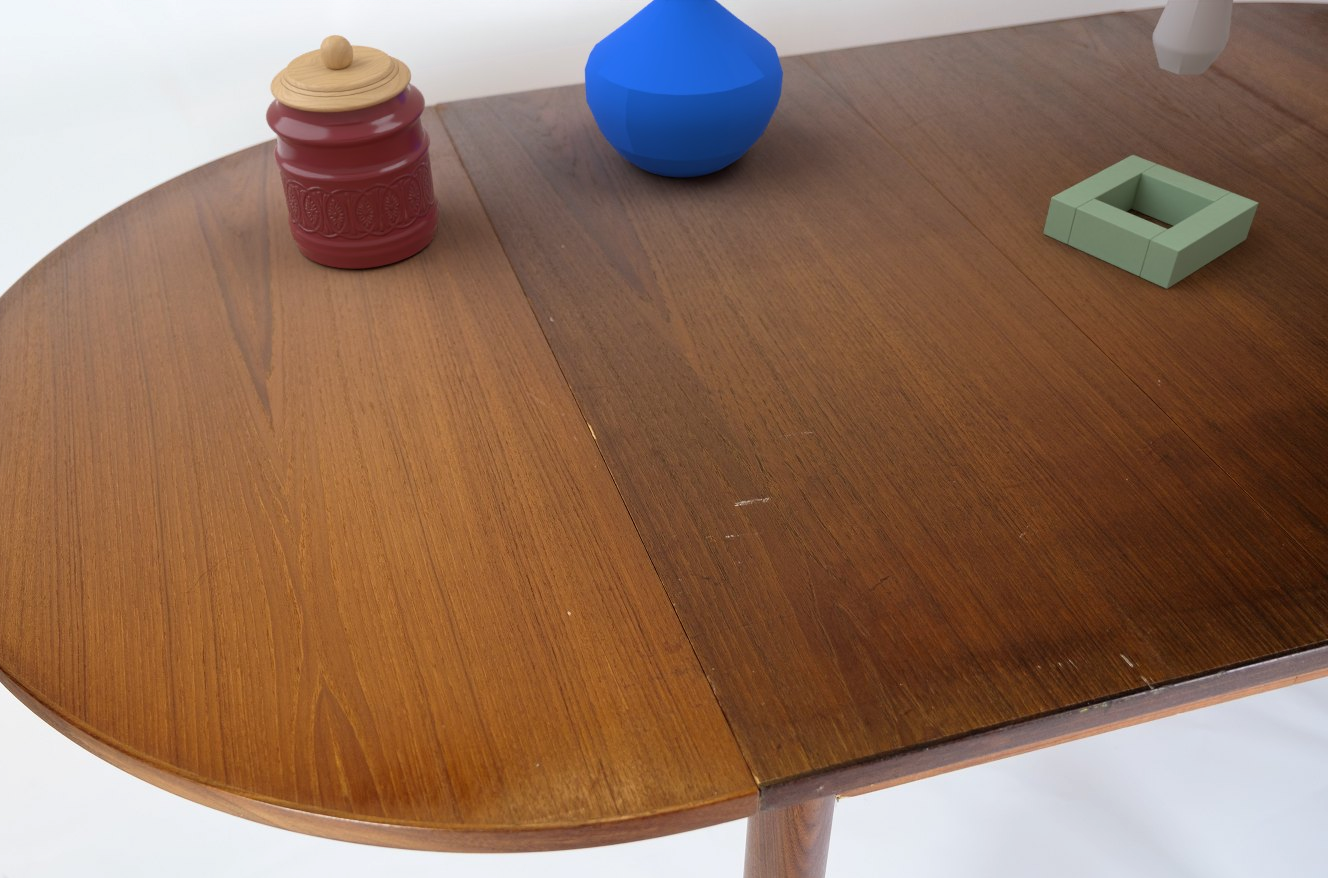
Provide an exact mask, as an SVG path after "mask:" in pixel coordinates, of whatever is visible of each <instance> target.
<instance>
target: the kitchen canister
mask: <svg viewBox="0 0 1328 878" xmlns="http://www.w3.org/2000/svg"><path fill="white" fill-rule="evenodd" d="M411 80H412V73H411V70H410V67H408V65H407V64H406V63H405V62H403V61H402V60H400V59H398V58H396V57H393V56H392V55H389V54H388V53H386V52H385V51H383V50H380V49H378V48H375V47H371V46H365V45H356V44H355V45H353V44H351V43H350V41H349V40H348V39H347V38H345V37H344V36H342V35H339V34H333V35H329V36H327V37H325V38H324V39H323V40H322V42H321V44H320V47H319V48H317V49H314V50H311V51H308V52H305V53H303V54H301V55H299V56H297V57H295V58H293V59H292V60H291V61H290V62H289V63H288V64H287V66H286V67H284V68H283V69H281V70H280V71H279V72H278V73H277V74H276V75H275V76H274V77H273V78H272V80H271V83H270V92H271V94H272V96H273V98H274V99H273V100H272V101H271V102H270V104H269V106H268V107H267V110H266V113H265V120H266V123H267V125H268V127H269V129H270V130H271V131H272V132H273V133H275V135H276V144H275V146H274V150H273V159H274V162H275V164H276V166H278V169H279V174H280V180H281V184H282V188H283V193H284V198H285V203H286V207H287V212H288V213H287V223H288V226H289V231H290V234H291V237H292V238H293V240H294V241H295V245H296V247H297V249H298V250H299V252H300V253H301V254H302V255H303V256H304V257H306V258H307V259H309V260H311V261H313V262H315V263H318V264H320V265H324V266H328V267H332V268H337V269H353V270H355V269H356V270H357V269H368V268H369V269H370V268H376V267H382V266H387V265H391V264H394V263H399V262H400V261H403V260H405V259H407V258H410V257H411V256H413V255H416V254H418V253H419V252H421V251H422V250H423V249H425V248H426V247H428V245H430V243H431V242H432V241H433V240H434V239H435V236H436V234H437V231H438V222H439V221H438V220H439V215H440V212H439V211H440V210H439V207H438V206H439V201H438V199H437V196H436V194H435V187H434V180H433V173H432V164H431V156H430V144H431V138H430V134H429V132H428V130H427V129H426V128H425V126H424V125H423V124H422V120H421V119H422V118H421V116H422V115H423V112H424V110H425V107H426V100H425V97H424V94H423V93H422V91H420V89H419V88H418V87H417V86H415V85H414V84H412V83H411Z"/></svg>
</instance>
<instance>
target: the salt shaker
mask: <svg viewBox="0 0 1328 878" xmlns="http://www.w3.org/2000/svg"><path fill="white" fill-rule="evenodd" d="M1233 6H1234V0H1167V2H1166V4H1165V6H1164V9H1163V11H1162V13H1161V15H1160V17H1159V20H1158V22H1157V24H1156V26H1155V28H1154V30H1153V32H1152V38H1151V39H1152V44H1153V47H1154V51H1155V52H1154V53H1155V56H1156V59H1157V62H1158V68H1159V69H1162V70H1164V71H1167V72H1170V73H1173V74H1175V75H1179V76H1182V75H1186V76H1187V75H1188V76H1189V75H1191V76H1192V75H1202V74H1203V73H1205V72H1206V71H1208V70H1209V68H1211V66H1212V65H1213V63H1214V62H1215V61H1216V60H1217V59H1218V58H1219V56H1221V54H1223V53H1224V50H1225V49H1226V47H1227V44H1228V42H1229V39H1230V32H1231V23H1232V14H1233Z"/></svg>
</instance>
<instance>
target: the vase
mask: <svg viewBox="0 0 1328 878" xmlns="http://www.w3.org/2000/svg"><path fill="white" fill-rule="evenodd" d="M783 76H784V71H783V68H782V64H781V62H780V57H779V55H778V52H777V48H776V46H775V45H774V44H773V43H771V42H770V40H768V38H766V37H764V36H763V35H762V34H761V33H759V32H758V31H757V30H755V29H754V28H752V27H751V26H750V25H748V24H747V23H746V22H744V21H743V20H741V19H740V18H738V17H737V16H736V15H735V14H733V13H732V12H731V11H730V10H729V9H727V8H726V7H725V6H723V5H722V4H721V3H720V2H719V1H717V0H651V2H649V3H648V4H647V5H646V6H644V7H643V8H642V9H640V10H639V11H638V12H636V13H635V14H634V15H633V16H631V18H629V19H628V20H627V21H625V22H624V23H623V24H622V25H620V26H619V27H617V28H616V29H615V30H613V31H612V32H610V33H609V34H608V35H607V36H605V37H604V38H602V39H600V41H598V42H597V43H595V45H594V46H593V48H592V49H591V51H590V53H589V56H588V58H587V61H586V64H585V66H584V84H585V85H584V86H585V100H586V104H587V106H588V108H589V110H590V112H591V114H592V117H593V118H594V121H595V123H596V125H597V127H598V130H599V131H600V133H601V134H602V136H603V137H604V139H605V140H606V142H608V144H609V145H611V147H612V148H613V149H614V150H615V151H616V153H618V155H620V156H621V157H623V158H624V159H625V160H627V161H628V162H629V163H631V164H632V165H634V166H636V167H638V168H639V169H641V170H642V171H645V172H648V173H650V174H654V175H658V176H663V177H668V178H669V177H670V178H695V177H700V176H701V177H702V176H707V175H710V174H713V173H716V172H719V171H721V170H723V169H724V168H726V167H728V166H729V165H731V164H733V163H734V162H737V161H738V160H739V159H741V158H742V157H743V156H744V155H745V154H746V153H747V152H748V151H749V150H750V149H751V148H752V146H753V145H755V144H756V142H757V141H758V140H759V139H760V138H761V137H762V136H763V135H764V133H765V131H766V130H767V127H768V125H769V123H770V121H771V119H772V118H773V115H774V113H775V111H776V109H777V107H778V105H779V102H780V99H781V96H782V88H783V78H784V77H783Z"/></svg>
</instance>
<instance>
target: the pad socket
mask: <svg viewBox="0 0 1328 878" xmlns="http://www.w3.org/2000/svg"><path fill="white" fill-rule="evenodd" d="M1258 206H1259V202H1257V201H1256V200H1252V199H1250V198H1247V197H1245V196H1243V195H1240V194H1237V193H1234V192H1232V191H1229V190H1226V189H1224V188H1221V187H1219V186H1216V185H1214V184H1211V183H1208V182H1206V181H1203V180H1201V179H1197V178H1196V177H1192V176H1190V175H1188V174H1185V173H1182V172H1179V171H1177V170H1174V169H1172V168H1170V167H1167V166H1163V165H1161V164H1158V163H1156V162H1153V161H1150V160H1148V159H1145V158H1143V157H1140V156H1137V155H1135V154H1131V155H1129V156H1128V157H1126V158H1124V159H1122V160H1120V161H1118V162H1116V163H1114V164H1112V165H1110V166H1108V167H1106V168H1105V169H1103V170H1100V171H1098V172H1096V173H1095V174H1093V175H1091V176H1090V177H1087V178H1086V179H1084V180H1082V181H1080V182H1078V183H1076V184H1074V185H1072V186H1070V187H1068V188H1067V189H1065V190H1062V191H1060V192H1059V193H1057V194H1056V195H1053V196H1051V198H1050V201H1049V206H1048V211H1047V214H1046V219H1045V224H1044V229H1043V233H1042V234H1043V235H1045V236H1048V237H1050V238H1052V239H1054V240H1056V241H1058V242H1061V243H1063V244H1065V245H1068V246H1070V247H1072V248H1074V249H1076V250H1079V251H1081V252H1082V253H1085V254H1088V255H1090V256H1092V257H1094V258H1097V259H1099V260H1101V261H1103V262H1106V263H1108V264H1109V265H1112V266H1115V267H1117V268H1119V269H1122V270H1123V271H1126V272H1128V273H1130V274H1133V275H1135V276H1137V277H1139V278H1142V279H1144V280H1146V281H1147V282H1151V283H1152V284H1155V285H1157V286H1159V287H1161V288H1163V289H1166V290H1168V289H1169V288H1172V286H1174V285H1176V284H1177V283H1179V282H1180V281H1182V280H1184V279H1185V278H1187V277H1189V276H1190V275H1192V274H1193V273H1194V272H1197V271H1198V270H1200V269H1201V268H1203V267H1204V266H1205V265H1208V264H1209V263H1211V262H1213V261H1214V260H1216V259H1218V258H1219V257H1221V256H1222V255H1224V254H1225V253H1227V252H1228V251H1230V250H1231V249H1233V248H1235V247H1236V246H1238V245H1240V244H1241V243H1243V242H1245V241H1246V240H1247V238H1248V235H1249V233H1250V229H1251V227H1252V224H1253V220H1254V218H1255V215H1256V213H1257V209H1258ZM1130 210H1132V211H1133V210H1134V211H1136V212H1138V213H1140V214H1144V215H1145V216H1148V217H1150V218H1153V219H1155V220H1157V221H1159V222H1162V223H1165V224H1167V225H1169V226H1172V227H1170V228H1166V227H1163V226H1161V225H1159V224H1157V223H1154V222H1152V221H1150V220H1146V219H1144V218H1142V217H1140V216H1137V215H1134V214H1133V213H1130V212H1128V211H1130Z"/></svg>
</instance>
